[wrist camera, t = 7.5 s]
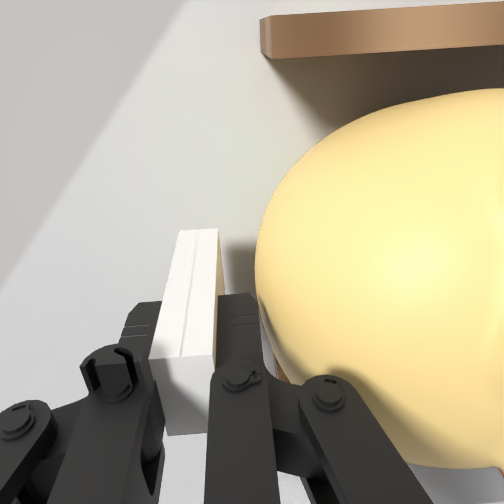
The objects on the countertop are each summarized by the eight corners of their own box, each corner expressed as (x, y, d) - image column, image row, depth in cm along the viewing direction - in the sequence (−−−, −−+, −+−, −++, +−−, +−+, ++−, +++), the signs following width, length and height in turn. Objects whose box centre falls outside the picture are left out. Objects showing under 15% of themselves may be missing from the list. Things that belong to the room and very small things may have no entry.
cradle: (272, 346, 21) (281, 410, 17) (259, 19, 13) (270, 15, 10) (558, 324, 21) (623, 382, 18) (698, -8, 14) (857, -21, 10)
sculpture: (520, 279, 20) (789, 507, 10) (289, 345, 21) (341, 602, 12) (523, 29, 14) (1117, 24, 5) (210, 140, 15) (185, 312, 6)
